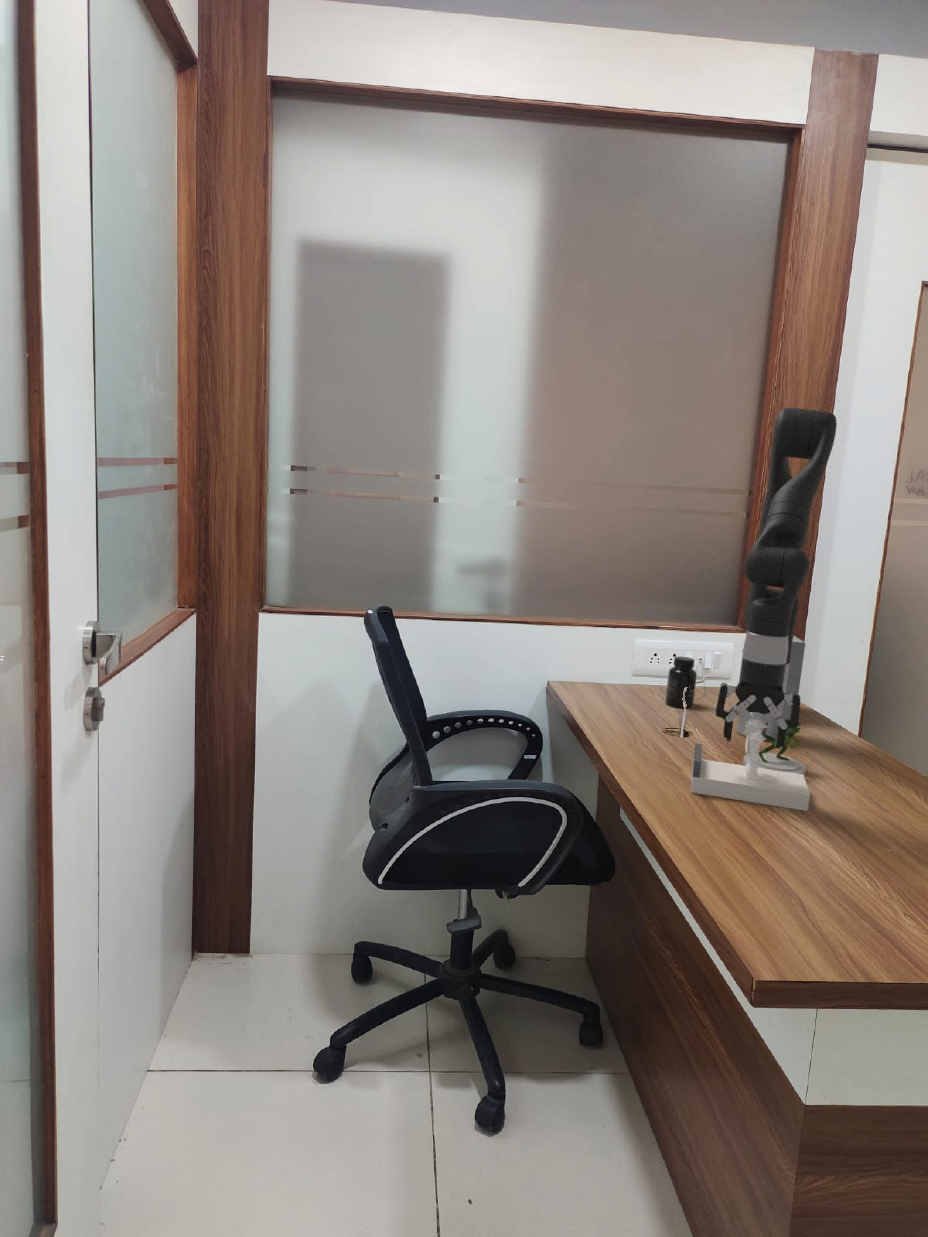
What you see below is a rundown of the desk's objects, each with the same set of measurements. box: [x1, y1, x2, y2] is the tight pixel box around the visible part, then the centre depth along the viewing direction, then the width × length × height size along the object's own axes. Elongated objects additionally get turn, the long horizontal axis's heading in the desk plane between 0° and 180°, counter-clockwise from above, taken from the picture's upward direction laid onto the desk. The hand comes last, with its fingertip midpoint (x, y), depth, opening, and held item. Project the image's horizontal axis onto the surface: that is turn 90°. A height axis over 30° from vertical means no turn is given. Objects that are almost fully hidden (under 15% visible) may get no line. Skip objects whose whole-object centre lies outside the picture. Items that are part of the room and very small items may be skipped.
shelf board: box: [690, 758, 811, 812], centre depth 160 cm, size 11×20×3 cm, turn 74°
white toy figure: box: [744, 712, 768, 780], centre depth 158 cm, size 9×4×12 cm, turn 167°
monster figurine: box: [742, 721, 807, 776], centre depth 174 cm, size 12×12×10 cm
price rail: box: [692, 742, 703, 778], centre depth 161 cm, size 11×1×3 cm, turn 164°
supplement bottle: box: [665, 656, 698, 709], centre depth 216 cm, size 7×7×12 cm
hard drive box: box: [782, 634, 806, 720], centre depth 215 cm, size 16×8×20 cm, turn 178°
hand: (752, 743), depth 158 cm, fingers open, 8 cm apart
